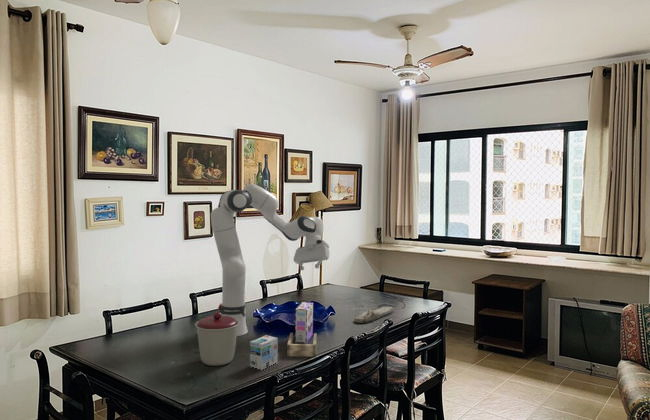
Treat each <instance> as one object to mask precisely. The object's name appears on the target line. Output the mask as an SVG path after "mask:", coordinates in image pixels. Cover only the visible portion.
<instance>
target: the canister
mask: <svg viewBox="0 0 650 420" xmlns="http://www.w3.org/2000/svg"><path fill="white" fill-rule="evenodd" d="M238 325H239V321H238V320H237V319H235V318H233V317H230V316H222V314H221V313H220V312H219V311H215V312H214V313H213V315H212V316H206V317H203V318H201V319H199V320H198V321H196V322H195V324H194V326H195V328H196V332H197V341H198V348H199V355H200V359H201V361H202V363H203V364H204V365H207V366H212V367H213V366H214V367H215V366H216V367H218V366H224V365H227V364H229V363H230V362H232V360H233V359H234V358H235V357H234V356H235V353H236V352H235V351H236V345H237V337H238V336H237V328H238Z"/></svg>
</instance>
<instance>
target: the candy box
mask: <svg viewBox="0 0 650 420" xmlns="http://www.w3.org/2000/svg"><path fill="white" fill-rule="evenodd" d="M294 315H295V319H294V328H295V329H294V342H295V344H308V342H309V341H310V339H311V338H312V337H313V336H314V333H313V332H314V302H305V301H304V302H303V301H302V302H301V303H300V304H299V305H298V306H296V308H295V313H294Z"/></svg>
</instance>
